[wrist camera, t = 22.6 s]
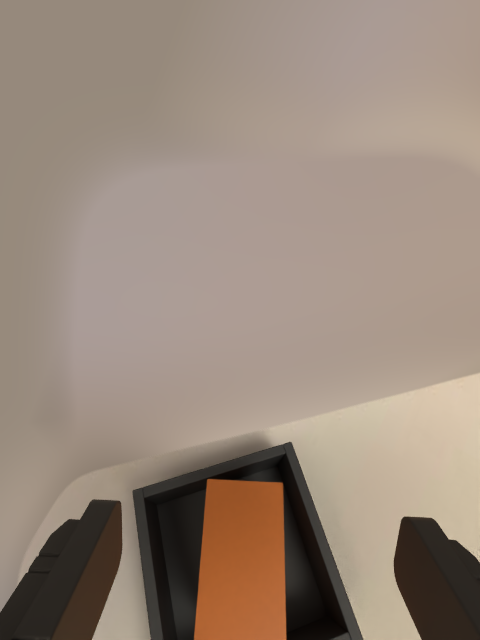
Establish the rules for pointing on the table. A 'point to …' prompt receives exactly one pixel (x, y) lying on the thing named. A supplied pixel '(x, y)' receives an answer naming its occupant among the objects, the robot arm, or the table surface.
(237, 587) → the block
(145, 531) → the bin
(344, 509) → the table surface
